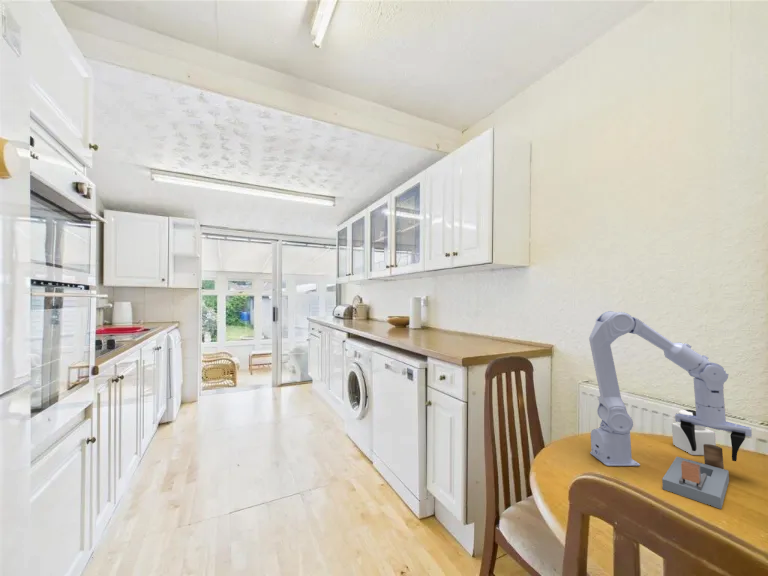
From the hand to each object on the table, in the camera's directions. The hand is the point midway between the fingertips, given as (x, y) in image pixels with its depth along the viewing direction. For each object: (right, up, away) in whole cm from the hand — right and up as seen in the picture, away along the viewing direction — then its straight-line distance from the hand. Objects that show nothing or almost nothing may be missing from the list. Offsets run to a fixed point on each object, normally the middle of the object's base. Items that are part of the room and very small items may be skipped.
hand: (713, 454), depth 86 cm
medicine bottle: (+6, -5, +12) cm, 14 cm away
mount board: (-11, -4, -6) cm, 14 cm away
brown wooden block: (0, -4, 0) cm, 4 cm away
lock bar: (-14, -2, -9) cm, 17 cm away
